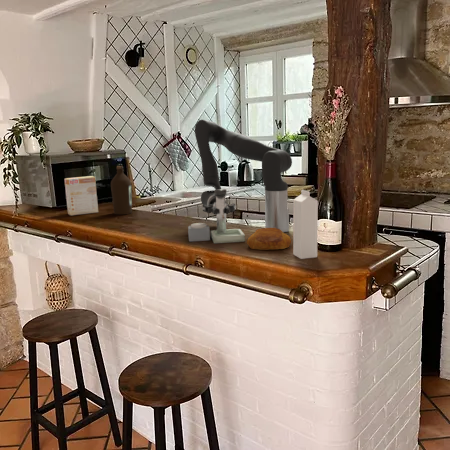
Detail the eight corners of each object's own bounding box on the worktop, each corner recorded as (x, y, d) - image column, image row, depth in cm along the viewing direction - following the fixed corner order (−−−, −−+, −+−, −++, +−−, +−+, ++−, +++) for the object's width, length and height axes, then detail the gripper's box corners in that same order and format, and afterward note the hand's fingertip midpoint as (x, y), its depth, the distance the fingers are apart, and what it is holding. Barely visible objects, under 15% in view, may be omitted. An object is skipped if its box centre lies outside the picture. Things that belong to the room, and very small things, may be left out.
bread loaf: (288, 258, 162) (291, 235, 160) (244, 251, 165) (246, 229, 163) (290, 246, 176) (293, 226, 174) (249, 240, 179) (252, 219, 177)
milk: (300, 259, 152) (300, 192, 148) (293, 254, 158) (292, 190, 153) (317, 257, 154) (318, 191, 149) (309, 252, 160) (309, 188, 155)
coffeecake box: (95, 210, 259) (91, 175, 255) (98, 212, 253) (95, 176, 249) (67, 213, 252) (63, 177, 248) (70, 215, 246) (67, 178, 242)
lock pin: (226, 231, 185) (225, 188, 182) (228, 233, 181) (227, 190, 177) (215, 231, 185) (213, 189, 181) (216, 234, 180) (215, 190, 177)
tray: (239, 234, 190) (239, 228, 189) (245, 241, 178) (244, 235, 178) (210, 236, 188) (210, 230, 188) (213, 243, 177) (213, 236, 176)
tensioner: (206, 232, 195) (206, 218, 194) (209, 240, 181) (209, 225, 180) (187, 234, 194) (186, 219, 193) (189, 241, 180) (188, 226, 179)
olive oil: (112, 215, 242) (109, 167, 237) (113, 212, 252) (109, 165, 247) (133, 214, 244) (130, 166, 239) (133, 210, 255) (129, 165, 250)
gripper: (199, 196, 193) (203, 202, 176) (233, 194, 195) (240, 201, 178) (200, 213, 195) (203, 222, 178) (233, 212, 196) (240, 220, 180)
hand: (222, 211), depth 178 cm, fingers closed on lock pin, 3 cm apart
